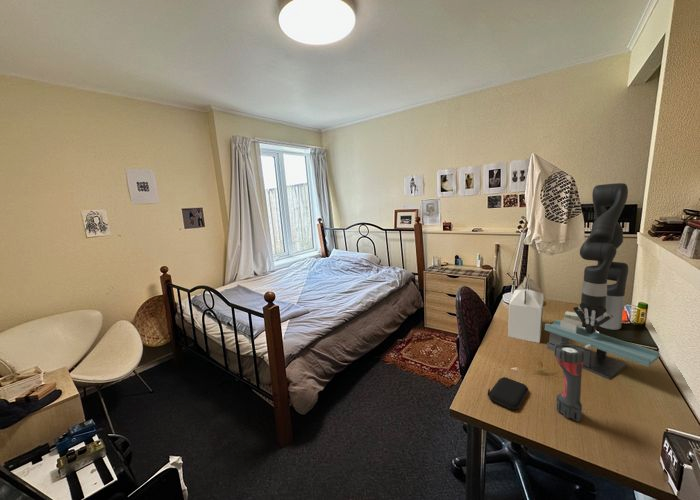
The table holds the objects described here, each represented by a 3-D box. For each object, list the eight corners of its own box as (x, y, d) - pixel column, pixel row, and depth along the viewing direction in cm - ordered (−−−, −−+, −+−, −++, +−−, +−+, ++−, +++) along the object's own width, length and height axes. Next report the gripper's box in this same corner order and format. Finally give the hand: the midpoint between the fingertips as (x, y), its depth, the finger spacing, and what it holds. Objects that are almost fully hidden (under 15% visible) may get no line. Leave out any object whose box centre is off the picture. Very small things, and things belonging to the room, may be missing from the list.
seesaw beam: (557, 334, 135) (558, 317, 134) (659, 371, 105) (662, 349, 104) (540, 343, 129) (541, 325, 128) (643, 384, 99) (646, 361, 98)
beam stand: (560, 341, 135) (561, 325, 134) (627, 366, 114) (629, 347, 113) (541, 350, 129) (542, 334, 127) (608, 379, 108) (610, 360, 106)
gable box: (513, 319, 160) (515, 271, 155) (542, 324, 152) (544, 273, 147) (507, 337, 142) (509, 283, 137) (539, 343, 135) (542, 286, 129)
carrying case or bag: (498, 379, 113) (483, 399, 103) (498, 372, 112) (483, 392, 102) (529, 391, 105) (516, 414, 95) (530, 384, 104) (516, 406, 95)
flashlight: (550, 399, 100) (554, 339, 96) (579, 407, 95) (584, 344, 91) (550, 414, 94) (554, 350, 89) (581, 423, 89) (587, 356, 85)
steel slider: (565, 328, 127) (566, 317, 126) (581, 333, 122) (582, 322, 121) (559, 331, 125) (560, 320, 124) (575, 336, 119) (576, 325, 119)
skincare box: (580, 337, 137) (582, 313, 135) (579, 341, 134) (581, 316, 132) (564, 333, 141) (565, 310, 139) (562, 337, 138) (564, 313, 136)
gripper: (619, 294, 109) (615, 336, 113) (579, 286, 121) (576, 324, 124) (610, 299, 106) (605, 342, 110) (569, 290, 118) (567, 329, 121)
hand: (590, 332), depth 117 cm, fingers closed
